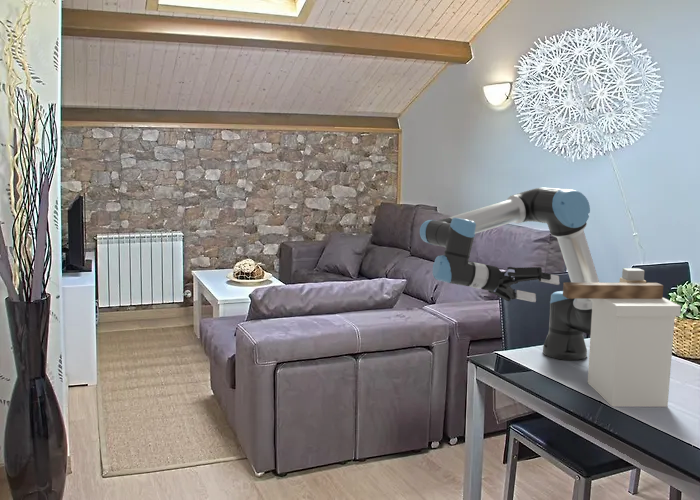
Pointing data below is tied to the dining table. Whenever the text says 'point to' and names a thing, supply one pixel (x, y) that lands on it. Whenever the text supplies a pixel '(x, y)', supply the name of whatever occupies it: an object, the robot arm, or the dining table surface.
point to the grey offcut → (633, 274)
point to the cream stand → (632, 350)
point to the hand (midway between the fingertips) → (546, 289)
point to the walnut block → (612, 290)
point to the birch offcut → (631, 281)
